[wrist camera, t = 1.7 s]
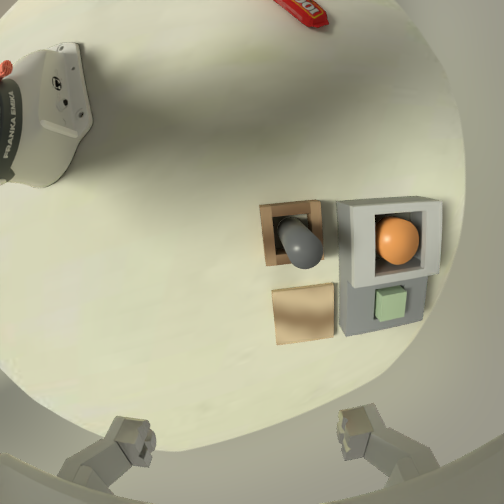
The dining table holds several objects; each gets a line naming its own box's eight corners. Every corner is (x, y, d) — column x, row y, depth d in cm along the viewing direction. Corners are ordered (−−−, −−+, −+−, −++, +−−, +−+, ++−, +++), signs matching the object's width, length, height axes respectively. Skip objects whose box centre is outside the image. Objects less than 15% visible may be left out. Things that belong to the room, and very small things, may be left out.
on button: (373, 287, 35) (382, 296, 32) (396, 283, 35) (406, 291, 32) (371, 311, 36) (380, 321, 33) (394, 307, 36) (404, 316, 33)
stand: (259, 205, 34) (260, 207, 32) (315, 199, 34) (320, 201, 31) (265, 260, 36) (266, 266, 33) (319, 253, 36) (323, 259, 33)
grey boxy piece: (336, 201, 34) (352, 206, 28) (416, 196, 34) (442, 201, 28) (338, 324, 38) (351, 347, 33) (411, 310, 38) (431, 328, 32)
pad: (271, 290, 37) (271, 292, 36) (332, 282, 37) (333, 284, 36) (276, 342, 39) (276, 345, 38) (332, 334, 39) (333, 337, 38)
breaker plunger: (370, 217, 32) (381, 221, 29) (406, 214, 32) (419, 218, 29) (370, 259, 33) (380, 267, 30) (406, 254, 33) (418, 261, 30)
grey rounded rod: (275, 218, 34) (286, 235, 25) (302, 215, 34) (322, 232, 25) (278, 244, 35) (289, 271, 26) (304, 241, 35) (324, 266, 26)
